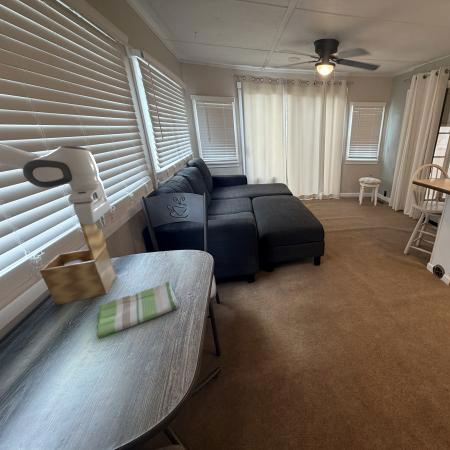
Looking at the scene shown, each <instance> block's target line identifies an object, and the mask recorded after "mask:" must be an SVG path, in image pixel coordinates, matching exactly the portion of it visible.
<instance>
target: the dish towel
mask: <svg viewBox="0 0 450 450" xmlns="http://www.w3.org/2000/svg"><path fill="white" fill-rule="evenodd" d="M178 307H180V305H179V302H178V299H177V297H176V294H175V290H174V287H173V284H171V282H170V280H168V281H165V282H163V283H162V284H159V285H157V286H154V287H150V288H148V289H147V288H146V289H144V290H141V291H140V292H137V293H133V294H131V295H129V294H128V295H126V296H122V297H120V298H117V299H114V300H110V301H108V302H105V303H102V304H100V305H99V307H98V308H99V309H98V311H99V312H98V315H99V316H98V324H97V327H96V328H97V330H96V331H97V334H96V338H97V339H100V338H103V337H105V336H108V335H111V334H114V333H117V332H119V331H123V330H126V329H129V328H132V327H134V326H136V325H138V324H142V323H144V322H147V321H150V320H153V319H155V318H158V317H160V316H162V315H165V314H167V313H169V312H172V311H173V310H176V309H178Z"/></svg>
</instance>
